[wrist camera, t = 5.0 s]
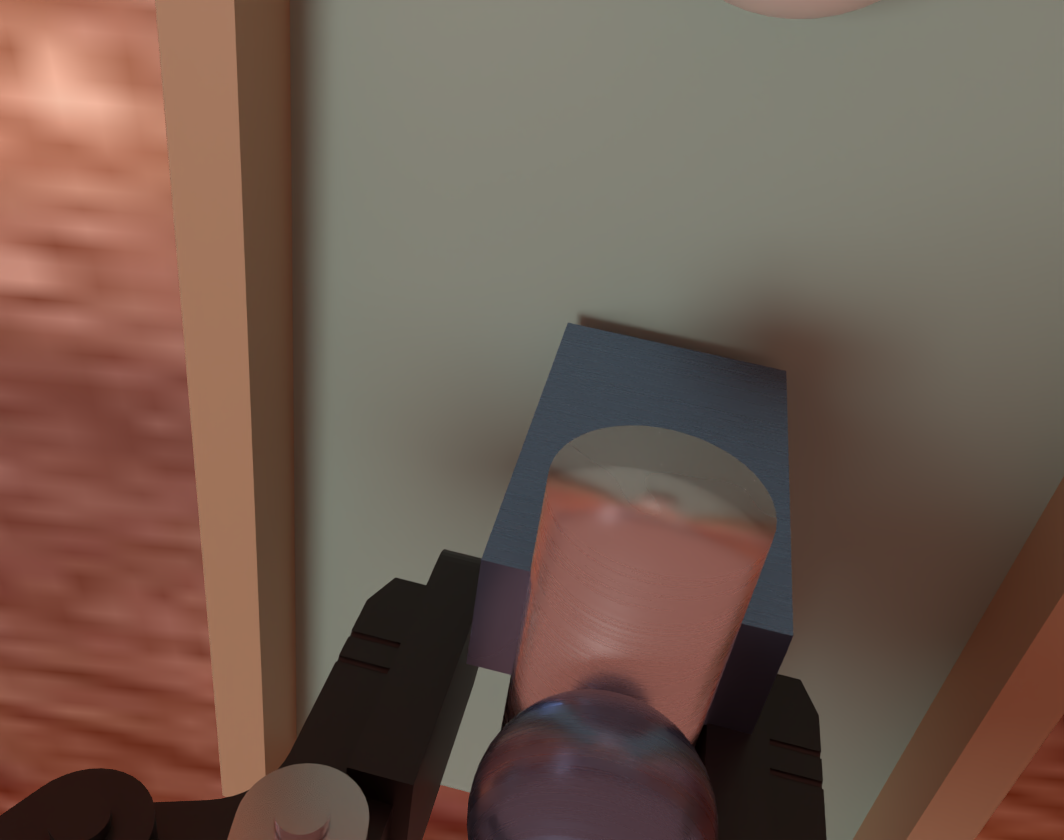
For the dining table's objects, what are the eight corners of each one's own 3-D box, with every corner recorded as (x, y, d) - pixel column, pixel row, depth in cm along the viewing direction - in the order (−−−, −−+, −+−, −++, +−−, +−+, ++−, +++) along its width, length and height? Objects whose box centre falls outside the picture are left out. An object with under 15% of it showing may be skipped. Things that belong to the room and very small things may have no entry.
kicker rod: (819, 298, 13) (871, 859, 6) (619, 873, 21) (550, 1380, 15) (574, 245, 13) (376, 729, 7) (471, 833, 22) (337, 1312, 15)
